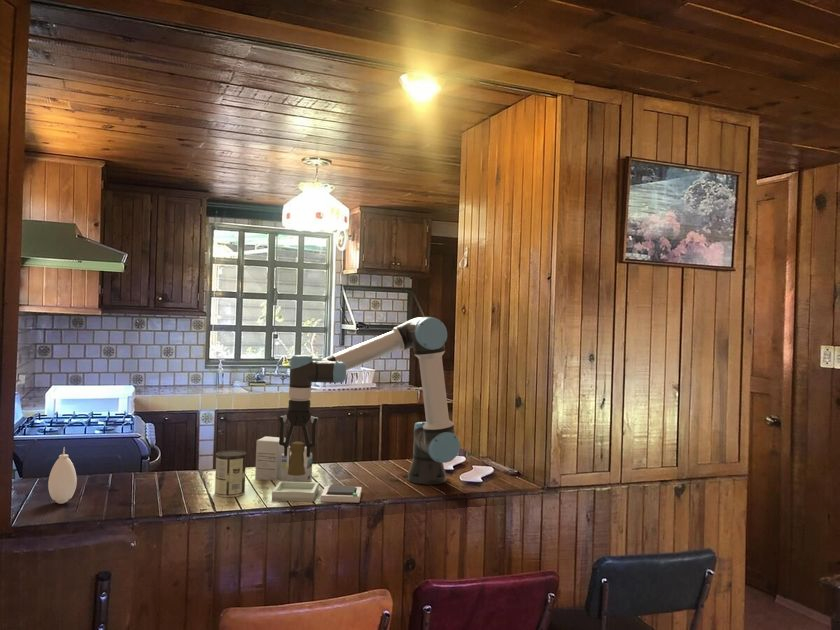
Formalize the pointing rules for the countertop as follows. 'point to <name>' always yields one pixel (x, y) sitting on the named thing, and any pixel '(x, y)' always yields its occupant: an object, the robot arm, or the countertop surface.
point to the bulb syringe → (62, 479)
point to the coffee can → (230, 473)
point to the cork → (296, 459)
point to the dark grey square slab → (341, 490)
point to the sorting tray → (295, 491)
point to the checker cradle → (341, 496)
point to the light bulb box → (290, 478)
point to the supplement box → (268, 458)
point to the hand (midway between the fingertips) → (296, 465)
